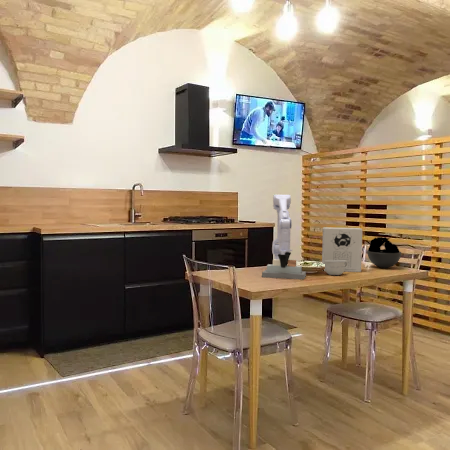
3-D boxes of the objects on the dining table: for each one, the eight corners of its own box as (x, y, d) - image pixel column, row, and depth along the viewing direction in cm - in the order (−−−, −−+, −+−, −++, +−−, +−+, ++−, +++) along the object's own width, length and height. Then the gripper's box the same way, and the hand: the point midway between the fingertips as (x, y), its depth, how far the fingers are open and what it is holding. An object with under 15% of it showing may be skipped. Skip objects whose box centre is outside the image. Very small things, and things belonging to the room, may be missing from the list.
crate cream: (273, 264, 254) (274, 259, 254) (281, 264, 253) (281, 259, 253) (272, 265, 250) (272, 260, 250) (280, 265, 249) (280, 260, 249)
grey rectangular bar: (266, 271, 250) (266, 265, 250) (268, 270, 255) (268, 264, 255) (300, 273, 246) (300, 267, 245) (301, 272, 250) (301, 265, 250)
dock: (265, 273, 259) (265, 269, 258) (305, 276, 253) (305, 271, 253) (261, 277, 248) (262, 272, 248) (303, 279, 242) (303, 274, 242)
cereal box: (358, 270, 277) (360, 228, 276) (361, 272, 270) (362, 228, 268) (321, 269, 280) (322, 227, 278) (323, 271, 272) (324, 228, 271)
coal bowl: (375, 264, 303) (376, 235, 302) (406, 267, 289) (407, 237, 288) (360, 267, 288) (361, 237, 287) (392, 271, 274) (393, 239, 273)
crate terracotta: (288, 265, 252) (288, 259, 252) (296, 265, 251) (296, 260, 250) (287, 266, 248) (287, 260, 248) (295, 266, 247) (295, 261, 247)
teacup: (329, 276, 253) (329, 261, 253) (321, 273, 264) (321, 259, 263) (353, 275, 256) (353, 261, 255) (344, 272, 266) (344, 258, 266)
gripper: (290, 242, 241) (290, 268, 242) (293, 240, 255) (293, 265, 256) (277, 242, 243) (276, 268, 244) (281, 239, 257) (280, 264, 258)
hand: (284, 266), depth 250 cm, fingers open, 7 cm apart
